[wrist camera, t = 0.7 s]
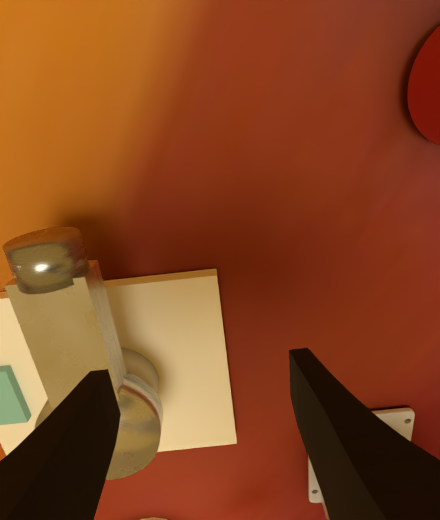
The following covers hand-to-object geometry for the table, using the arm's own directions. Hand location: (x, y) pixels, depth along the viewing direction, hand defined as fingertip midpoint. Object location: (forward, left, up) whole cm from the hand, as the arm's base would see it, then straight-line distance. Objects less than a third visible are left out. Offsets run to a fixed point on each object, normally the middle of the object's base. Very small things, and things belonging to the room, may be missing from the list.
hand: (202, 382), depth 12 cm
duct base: (-7, +8, -10) cm, 15 cm away
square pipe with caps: (-3, +7, -7) cm, 11 cm away
